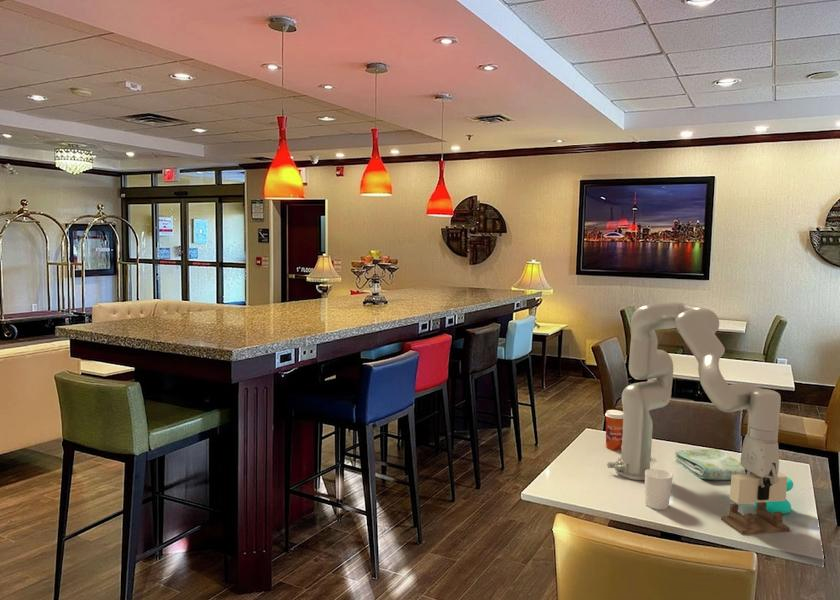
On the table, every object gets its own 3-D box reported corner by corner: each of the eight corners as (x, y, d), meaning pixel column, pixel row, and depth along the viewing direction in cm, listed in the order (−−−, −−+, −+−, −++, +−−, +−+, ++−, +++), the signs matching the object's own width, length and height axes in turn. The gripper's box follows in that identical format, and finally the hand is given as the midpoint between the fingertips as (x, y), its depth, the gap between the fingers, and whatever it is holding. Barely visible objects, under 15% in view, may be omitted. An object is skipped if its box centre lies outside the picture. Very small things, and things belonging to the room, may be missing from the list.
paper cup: (604, 450, 239) (606, 414, 237) (602, 443, 246) (604, 408, 245) (625, 452, 237) (628, 416, 236) (622, 445, 245) (625, 410, 243)
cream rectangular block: (738, 503, 176) (739, 479, 175) (729, 498, 179) (731, 474, 179) (785, 500, 179) (787, 476, 178) (776, 495, 182) (778, 472, 181)
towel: (718, 459, 233) (719, 446, 233) (754, 482, 212) (756, 467, 212) (671, 460, 231) (672, 446, 231) (703, 483, 210) (704, 468, 210)
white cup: (667, 513, 187) (669, 480, 185) (640, 506, 191) (642, 474, 190) (672, 503, 193) (675, 472, 192) (646, 497, 197) (648, 466, 196)
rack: (741, 534, 174) (743, 517, 174) (720, 519, 183) (722, 503, 182) (789, 530, 177) (791, 513, 176) (766, 516, 186) (768, 500, 185)
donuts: (793, 486, 183) (755, 478, 188) (790, 518, 185) (752, 510, 190) (793, 474, 192) (756, 468, 197) (790, 506, 193) (753, 498, 198)
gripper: (731, 425, 184) (726, 485, 186) (771, 444, 168) (766, 510, 170) (754, 424, 186) (749, 484, 188) (796, 442, 169) (791, 508, 171)
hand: (757, 495), depth 179 cm, fingers closed on cream rectangular block, 3 cm apart
